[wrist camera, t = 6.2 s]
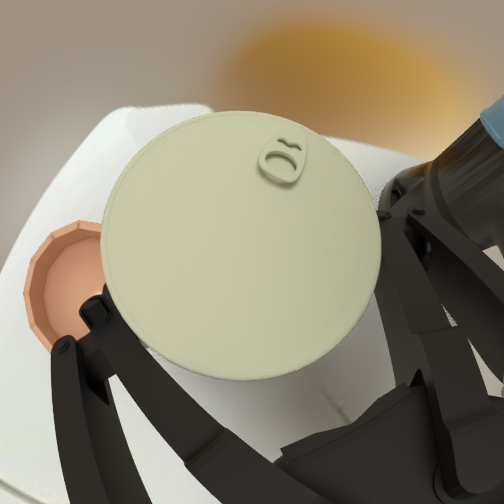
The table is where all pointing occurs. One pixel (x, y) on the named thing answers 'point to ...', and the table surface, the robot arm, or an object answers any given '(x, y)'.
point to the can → (240, 245)
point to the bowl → (63, 281)
